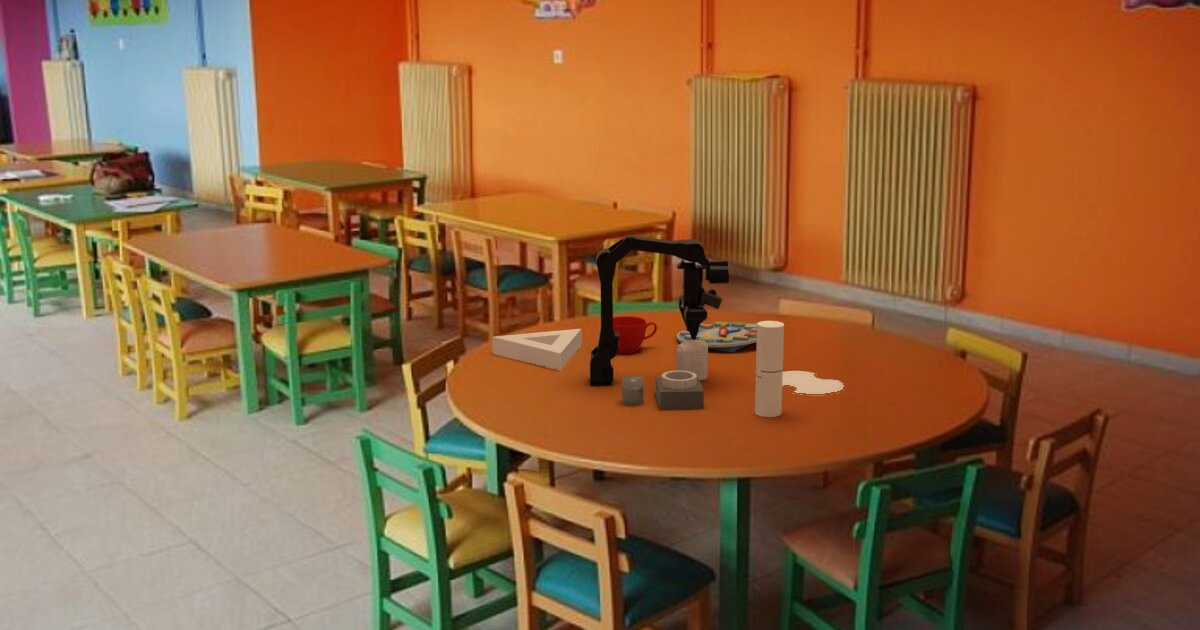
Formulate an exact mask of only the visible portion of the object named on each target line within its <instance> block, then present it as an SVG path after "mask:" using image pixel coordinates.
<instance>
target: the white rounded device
mask: <svg viewBox="0 0 1200 630" xmlns="http://www.w3.org/2000/svg"><path fill="white" fill-rule="evenodd" d="M708 356H709V349H708V346H707V343H706V342H705V341H702V340H689V341H686V342H684V343H680V344H678V345H677V347H676V348H675V371H689V372H692V373H695V374H696V376H697V377H698V379H699V382H700V381H705V380H706V379H708V363H709V361H708V360H709V358H708Z"/></svg>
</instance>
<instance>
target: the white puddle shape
mask: <svg viewBox="0 0 1200 630" xmlns="http://www.w3.org/2000/svg"><path fill="white" fill-rule="evenodd" d="M814 374H815V372H811V371H806V370H805V371H804V370H788V371H787V370H786V371H783V377H782V386H784V385H790V386H789V387H791V386H794V387H796V388H797V389H796V388H795V390H794V392H796V393H806V394H825V393H831V392H837V391H840V390H842V389H843V387H844V385H845V384H844V383H843V382H842V381H840V380H838V379H829V378H828V379H825V378H819V377H816V375H815V376H814ZM841 382H842V383H841ZM843 384H844V385H843ZM794 387H793V388H794Z"/></svg>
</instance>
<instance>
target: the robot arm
mask: <svg viewBox="0 0 1200 630" xmlns="http://www.w3.org/2000/svg"><path fill="white" fill-rule="evenodd" d="M631 251H637V252H639V251H640V252H647V253H653V254H660V255H661V254H662V255H668V256H669V255H670V256H673V257H675V258H678V259H681V261H680V262H679V263H677V264H676V267H677V270H682V284H681V290H682V295H680V296H679V297H678V298H677V305H678V309H679V312H680V314H681V317H682V319H683V322H684V325H685V328H687V331H688V332H689V333H690V336H691V339H692V340H696V337H697V333H698V330H699V326H700V324H701V323H702V324H703V322H705V321H706V320H707V319H708V311H707V309H706V308H705V306H706V305H707V306H709V307H712V308H714V309H716V310H719V309H720V307H721V304H722V302H723V298H722V297H721V296H720V295H718V294H717V291H716V289H713V288H709V289H708V290H705V288H704V287H703V286H704V285H703V284H704V283H703V281H704V280H705V281H707V282H708V284H710V285H711V284H713V285H717V284H718V285H719V284H720V285H727V284H730V283H729V282H730V273H729V260H727V259H723V260H722V259H721V260H710V259H709V257H708V256H706V254H705V249H704V246H703V244H702V243H701V242H700V241H699V240H698V239H694V238H691V239H690V238H689V239H687V238H686V239H677V240H670V239H669V240H668V239H663V238H662V239H660V238H653V237H646V236H638V235H633V234H626V235H625V236H624V237H623V238H621V239H620V240H618V241H617V242H615V243H613V244H612V245H610V246H609V247H608V248H602V249H600V250H599V251H598V252H597V253H596V260H595V261H596V267H597V272H598V278H599V282H600V283H599V284H600V329H599V333H598V339H597V346H595V347H594V348H593V349H592V350H591V351H590V361H589V378H588V380H589V386H612V385H613V383H614V366H613V365H612V359H615V357H617V354H618V353H617V350H619V342H618V341H619V332H614V328H613V317H614V298H613V297H614V294H613V293H614V289H613V288H614V287H613V286H614V279H615V274H616V268H617V263H619V262H620V261H621V260H622V259H624V258H625V256H627V255H628V254H629V253H630V252H631ZM686 261H687V262H686ZM696 263H697V264H696Z"/></svg>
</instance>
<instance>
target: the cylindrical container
mask: <svg viewBox="0 0 1200 630" xmlns="http://www.w3.org/2000/svg"><path fill="white" fill-rule="evenodd" d="M756 324H757V342H756V350H755V351H756V353H755V354H756V355H755V357H756V359H755V361H756V362H755V393H754V395H755V396H754V397H755V398H754V399H755V400H754V401H755V402H754V414H755V415H757V416H760V417H763V418H775V417H779V416H781V415H782V406H783V405H782V403H783V385H782V377H783V372H784V369H783V368H784V342H785V341H784V340H785V323H783V322H781V321H779V320H778V321H776V320H762V321H759V322H757V323H756Z"/></svg>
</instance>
